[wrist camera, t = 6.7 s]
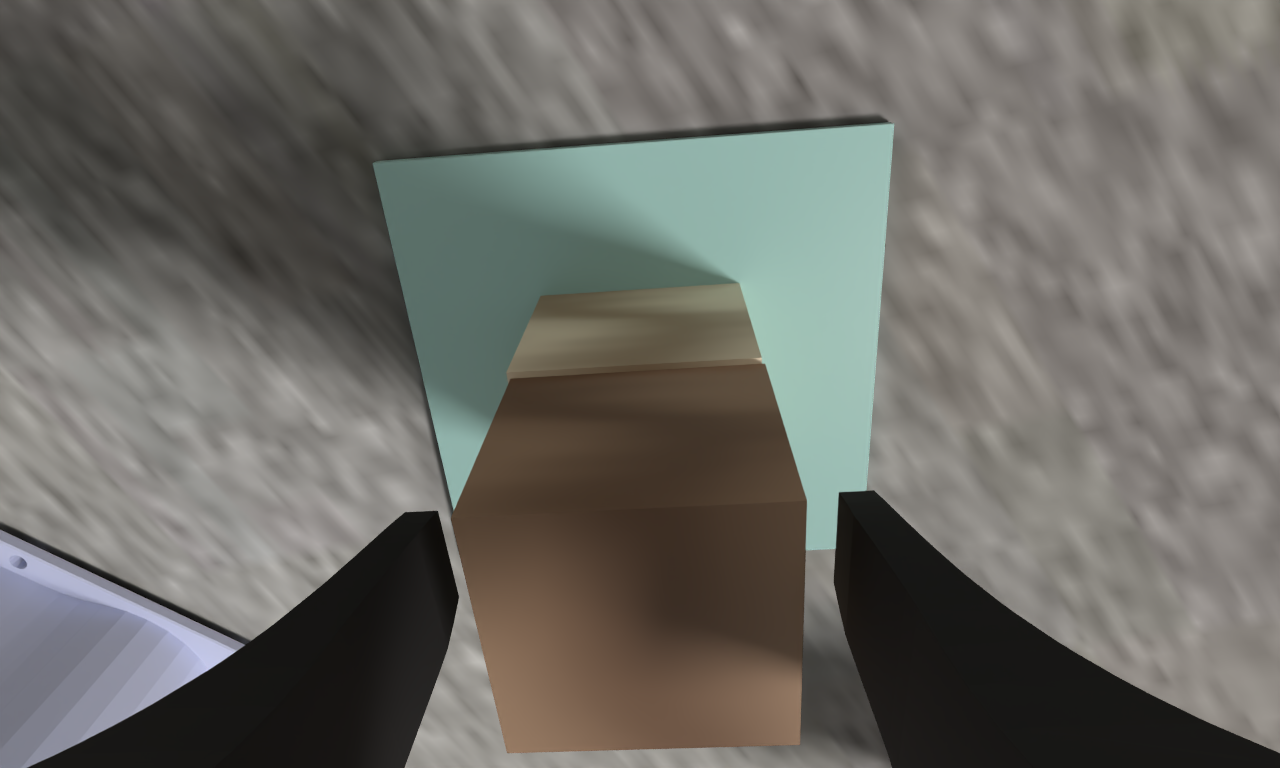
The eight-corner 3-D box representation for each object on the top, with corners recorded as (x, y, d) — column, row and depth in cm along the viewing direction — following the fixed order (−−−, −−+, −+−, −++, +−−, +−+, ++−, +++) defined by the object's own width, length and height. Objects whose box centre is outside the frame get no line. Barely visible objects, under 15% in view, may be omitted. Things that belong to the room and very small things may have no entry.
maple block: (564, 462, 20) (541, 570, 16) (540, 295, 18) (505, 372, 14) (741, 454, 20) (762, 561, 16) (739, 282, 18) (761, 357, 14)
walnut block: (544, 574, 16) (507, 753, 12) (510, 378, 14) (450, 518, 10) (765, 565, 16) (799, 745, 12) (765, 363, 14) (807, 500, 10)
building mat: (468, 558, 22) (466, 564, 22) (377, 161, 17) (372, 163, 17) (859, 541, 22) (862, 547, 21) (890, 122, 16) (893, 123, 16)
